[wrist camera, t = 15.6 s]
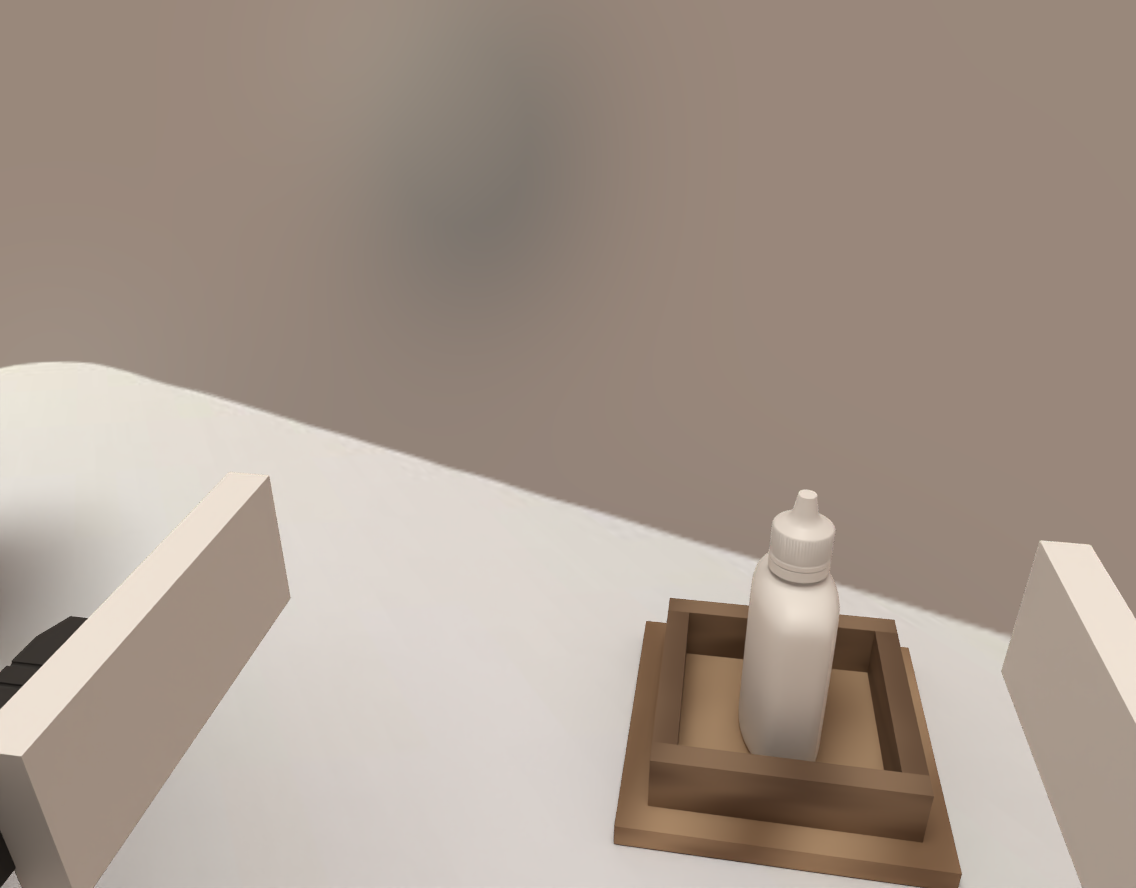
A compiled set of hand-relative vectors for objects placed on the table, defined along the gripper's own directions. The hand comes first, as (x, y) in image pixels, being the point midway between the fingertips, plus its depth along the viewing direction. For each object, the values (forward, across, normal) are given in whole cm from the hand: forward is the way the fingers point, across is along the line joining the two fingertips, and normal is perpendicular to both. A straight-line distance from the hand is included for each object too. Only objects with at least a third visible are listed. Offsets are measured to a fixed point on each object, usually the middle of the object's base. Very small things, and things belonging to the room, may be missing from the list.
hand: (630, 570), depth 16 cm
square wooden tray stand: (+18, +6, -22) cm, 29 cm away
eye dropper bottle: (+18, +6, -21) cm, 28 cm away
